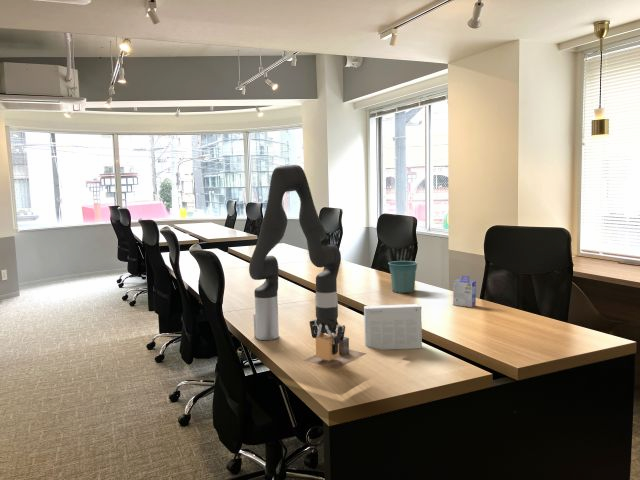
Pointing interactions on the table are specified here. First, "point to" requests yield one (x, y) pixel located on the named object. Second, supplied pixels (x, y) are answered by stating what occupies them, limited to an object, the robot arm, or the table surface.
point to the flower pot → (403, 276)
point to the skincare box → (393, 326)
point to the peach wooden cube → (325, 347)
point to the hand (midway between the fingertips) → (327, 352)
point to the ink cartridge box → (464, 292)
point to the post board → (342, 359)
